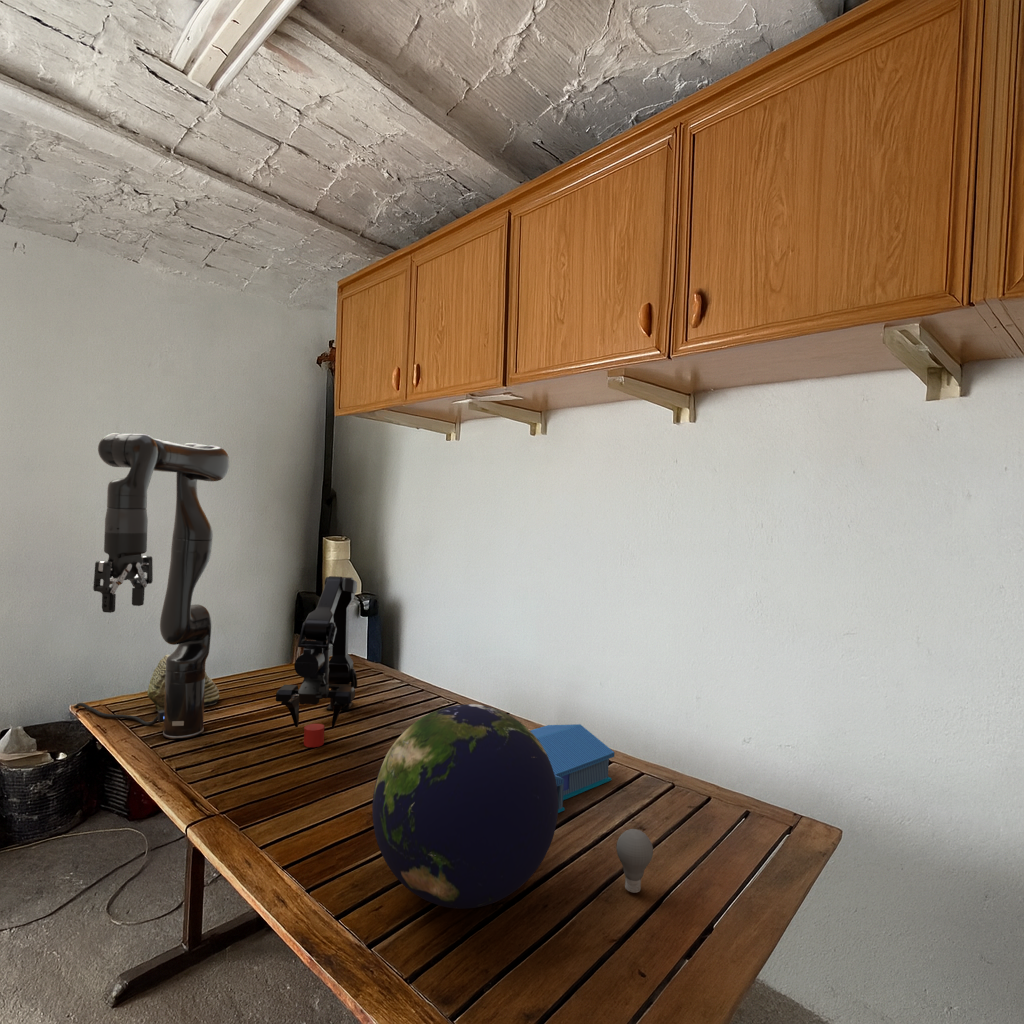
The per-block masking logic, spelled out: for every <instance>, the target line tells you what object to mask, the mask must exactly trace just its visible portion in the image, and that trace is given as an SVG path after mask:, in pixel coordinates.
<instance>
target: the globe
mask: <svg viewBox="0 0 1024 1024" xmlns="http://www.w3.org/2000/svg"><path fill="white" fill-rule="evenodd" d="M530 730H531V729H529V728H527V726H525V725H524V724H523V723H522V722H520V721H519V720H518V719H516V718H515V717H514V716H512V715H510V714H509V713H506V712H504V711H502V710H499V709H497V708H494V707H491V706H487V705H482V704H478V703H477V704H475V703H468V704H467V703H466V704H465V703H464V704H455V705H450V706H449V705H448V706H445V707H442V708H439V709H437V710H434V711H432V712H429V713H428V714H425V715H424V716H422V717H420V719H417V720H416V721H415V722H413V723H412V724H411V725H410V726H408V727H407V728H406V729H405V730H404V731H403V732H402V734H401V735H400V736H398V737H397V738H396V740H395V741H394V742H393V744H392V745H391V747H390V748H389V749H388V751H387V753H386V755H385V757H384V760H383V761H382V763H381V765H380V768H379V771H378V774H377V776H376V781H375V784H374V789H373V796H372V804H371V805H372V807H371V809H372V824H373V829H374V836H375V839H376V843H377V846H378V849H379V852H380V853H381V856H382V858H383V860H384V861H385V863H386V865H387V866H388V868H389V871H391V873H392V874H393V875H394V876H395V878H396V879H397V880H398V881H399V882H400V883H401V884H402V885H403V886H404V887H405V888H406V889H407V890H409V891H410V892H411V893H413V895H415V896H417V897H419V898H421V899H422V900H425V901H426V902H429V903H431V904H434V905H437V906H440V907H444V908H448V909H457V910H465V909H466V910H467V909H469V910H470V909H477V908H481V907H486V906H489V905H492V904H494V903H497V902H499V901H502V900H504V899H505V898H508V896H510V895H512V894H513V893H515V892H516V891H518V890H519V889H520V888H521V887H523V885H524V884H526V883H527V882H528V880H530V879H531V878H532V877H533V875H534V874H535V873H536V871H537V870H538V869H539V867H540V866H541V865H542V862H543V861H544V859H545V857H546V855H547V854H548V851H549V849H550V847H551V844H552V842H553V839H554V836H555V832H556V829H557V828H556V827H557V822H558V816H559V813H558V791H557V784H556V779H555V775H554V772H553V768H552V765H551V763H550V761H549V758H548V756H547V753H546V752H545V750H544V748H543V747H542V745H541V743H540V742H539V741H538V739H537V738H536V737H535V736H534V735H533V734H532V733H531V732H530Z"/></svg>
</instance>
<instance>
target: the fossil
mask: <svg viewBox="0 0 1024 1024" xmlns="http://www.w3.org/2000/svg"><path fill="white" fill-rule="evenodd" d="M170 655H171V654H165V655H164V656H163V657H162V658H161V659H160V660H159V662H158V663H157V666H156V667H155V669H154V670H153V672H152V675H151V677H150V680H149V684H148V688H147V697H148V699H149V700H150V701H152V703H153V704H154V706H155V711H160V710H164V705H165V674H166V660H167V658H168V657H169V656H170ZM220 698H221V696H220V690H219V688H218V686H217V685H216V683H215V682H214V681H213V679H212V678H211V677H209V675H208V674H207V672H206V671H205V693H204V707H207V706H213V705H215V704H217V703H218V701H219V699H220Z"/></svg>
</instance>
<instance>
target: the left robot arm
mask: <svg viewBox="0 0 1024 1024" xmlns="http://www.w3.org/2000/svg"><path fill="white" fill-rule="evenodd" d="M97 453H98V456H99V458H100V459H101V460H102V461H103V462H104V463H105V464H106V465H108V466H109V467H113V468H130V469H129V471H128V473H127V475H126V476H125V477H123V478H116V479H112V480H110V481H109V482H108V484H107V491H106V492H107V493H106V494H107V495H106V512H105V516H104V517H105V518H104V539H103V540H104V542H103V552H104V553H105V554H107V555H108V559H107V561H106V560H97V561H95V563H94V573H93V575H94V576H93V587H92V589H93V592H98V593H100V594H101V609H102V612H103V613H109V614H111V613H114V612H115V611H116V602H117V601H116V598H117V596H116V595H117V594H116V592H117V590H118V588H119V586H121V585H122V584H123V583H124V581H130V584H131V585H132V589H131V605H132V606H134V607H135V606H136V607H140V606H144V603H145V590H146V589H145V588H147V586H148V585H151V584H152V583H153V581H154V580H153V577H154V576H153V575H154V574H153V567H154V566H153V557H152V556H150V555H143V554H145V553H146V552H147V549H148V520H149V519H148V512H147V511H148V507H147V506H148V503H147V502H148V489H149V486H150V482H151V479H152V477H153V473H154V472H162V473H175V474H176V475H175V476H176V477H175V478H176V481H175V482H176V484H175V485H176V487H175V489H176V490H175V491H176V492H175V493H176V494H175V495H176V498H175V512H174V513H175V514H174V523H173V530H172V539H171V546H170V547H171V548H170V560H169V561H170V562H169V569H168V577H167V585H166V590H165V595H164V600H163V604H162V609H161V614H160V618H159V631H160V635H161V637H162V639H163V641H164V642H165V643H167V644H168V645H172V646H176V645H177V646H176V647H175V650H173V652H172V653H170V654H169V655H170V656H169V657H168V658H167V660H166V674H165V705H164V710H160V711H159V710H157V715H156V716H155V717H154V718H153V719H152V721H145V720H143V719H142V718H140V717H138V716H135V715H128V714H111V713H105V712H102V711H100V710H98V709H96V708H94V707H91V706H89V705H88V704H86V703H84V702H78V703H76V704H75V705H74V706H73V708H74V709H78V708H79V707H82V708H84V709H86V710H87V711H89V712H92V713H94V714H95V715H97V716H99V717H101V718H108V719H124V720H125V719H126V720H133V721H136V722H137V723H139V724H142V725H144V726H147V727H149V726H152V725H155V724H156V723H157V722H159V723H161V722H163V731H162V737H164V738H166V739H169V740H185V739H190V738H191V739H192V738H194V737H197V736H199V735H202V734H203V732H204V730H205V729H204V722H205V721H204V718H205V706H204V693H205V672H206V664H207V663H206V662H207V659H208V657H209V654H210V649H211V648H210V647H211V639H212V617H211V614H210V612H209V610H208V609H207V608H206V607H205V606H204V605H201V604H196V603H195V604H194V603H193V604H192V601H193V596H194V591H195V588H196V586H197V584H198V582H199V580H200V578H201V577H202V575H203V573H204V572H205V570H206V568H207V566H208V564H209V561H210V559H211V556H212V549H213V548H212V547H213V537H214V533H213V528H212V525H211V523H210V521H209V519H208V517H207V516H206V513H205V511H204V510H203V508H202V505H201V503H200V500H199V497H198V481H202V482H219V481H222V480H223V479H224V478H225V477H226V476H227V474H228V472H229V469H230V457H229V454H228V453H227V451H226V450H225V449H224V448H223V447H220V446H217V445H211V444H204V443H195V442H186V443H184V444H181V443H178V442H177V443H176V442H174V441H168V440H163V439H159V438H153V437H152V436H151V435H148V434H145V433H127V432H111V433H109V434H106V435H104V437H102V438H101V439H100V441H99V443H98V445H97ZM101 580H102V585H101ZM110 585H111V586H110Z"/></svg>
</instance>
